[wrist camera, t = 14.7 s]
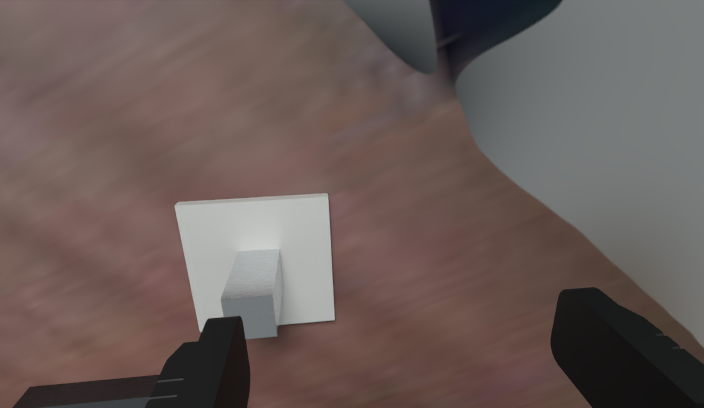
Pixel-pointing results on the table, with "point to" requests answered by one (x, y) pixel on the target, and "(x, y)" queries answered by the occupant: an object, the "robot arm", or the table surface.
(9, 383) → the table surface
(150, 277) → the table surface
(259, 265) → the tall gray box
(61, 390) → the dark grey flat block
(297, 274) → the off-white plate
